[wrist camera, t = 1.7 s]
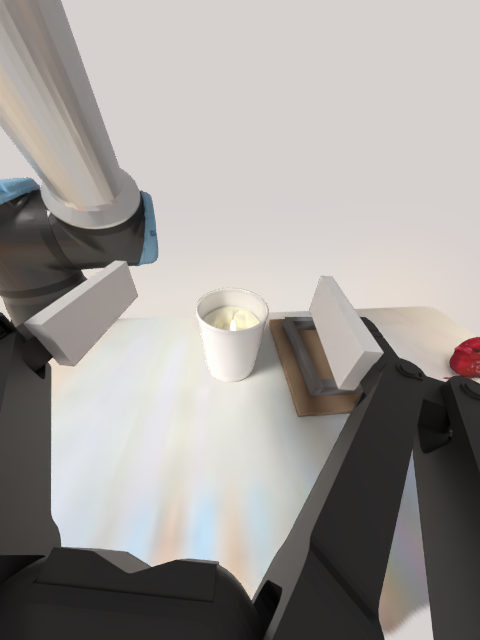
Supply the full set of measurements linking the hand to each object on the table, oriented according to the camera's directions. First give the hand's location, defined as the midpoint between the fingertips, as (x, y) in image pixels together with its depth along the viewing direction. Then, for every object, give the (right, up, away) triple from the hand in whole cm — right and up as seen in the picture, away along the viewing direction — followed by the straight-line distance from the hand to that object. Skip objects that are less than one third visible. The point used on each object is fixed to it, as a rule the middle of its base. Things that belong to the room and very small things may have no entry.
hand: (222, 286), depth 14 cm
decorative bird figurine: (+41, -13, +20) cm, 47 cm away
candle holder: (0, -10, +20) cm, 22 cm away
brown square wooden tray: (+18, -9, +22) cm, 30 cm away
